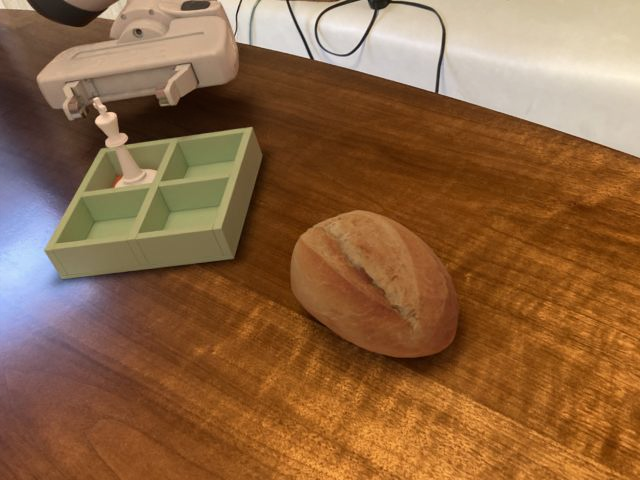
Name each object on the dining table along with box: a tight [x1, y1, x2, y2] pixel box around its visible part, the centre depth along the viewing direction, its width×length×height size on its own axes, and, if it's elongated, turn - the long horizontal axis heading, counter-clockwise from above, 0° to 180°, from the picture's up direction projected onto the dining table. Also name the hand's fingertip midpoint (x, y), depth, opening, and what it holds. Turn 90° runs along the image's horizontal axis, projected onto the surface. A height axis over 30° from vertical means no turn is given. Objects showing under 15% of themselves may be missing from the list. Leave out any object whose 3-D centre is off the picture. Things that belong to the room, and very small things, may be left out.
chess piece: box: [92, 97, 157, 188], centre depth 73 cm, size 5×5×10 cm
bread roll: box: [289, 209, 460, 359], centre depth 55 cm, size 10×15×8 cm, turn 43°
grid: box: [43, 126, 264, 280], centre depth 72 cm, size 16×16×3 cm
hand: (118, 106), depth 74 cm, fingers open, 8 cm apart
